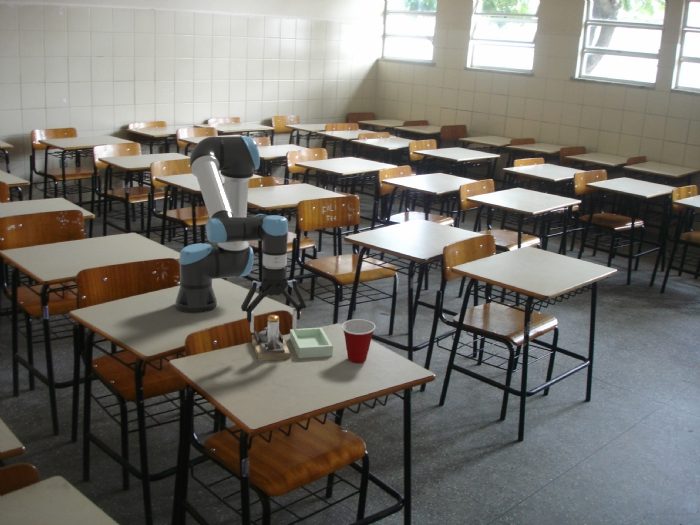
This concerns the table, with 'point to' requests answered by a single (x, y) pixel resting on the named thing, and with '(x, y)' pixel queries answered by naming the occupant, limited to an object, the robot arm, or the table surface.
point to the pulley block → (264, 354)
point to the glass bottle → (272, 332)
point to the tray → (311, 342)
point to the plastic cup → (358, 338)
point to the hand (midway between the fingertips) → (273, 330)
